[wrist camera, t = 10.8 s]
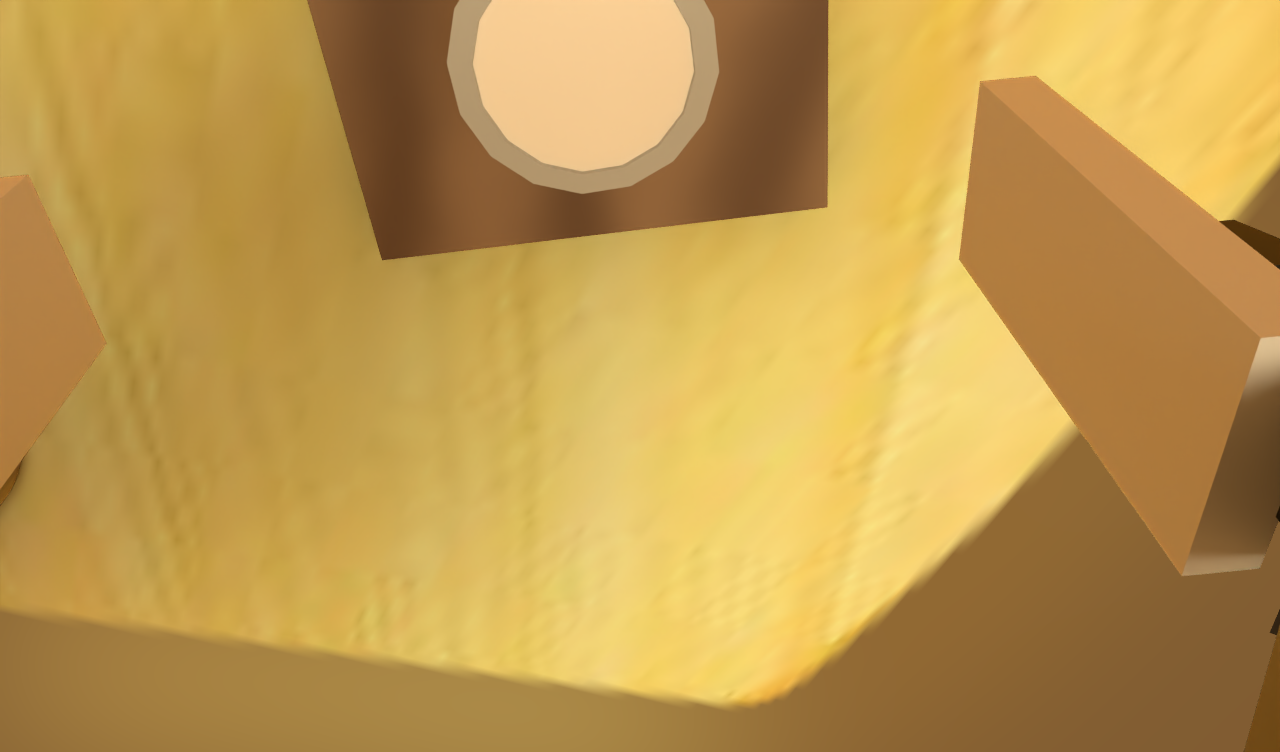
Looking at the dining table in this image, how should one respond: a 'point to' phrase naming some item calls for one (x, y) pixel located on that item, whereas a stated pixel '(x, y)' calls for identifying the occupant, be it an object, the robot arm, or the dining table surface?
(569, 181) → the beige cylinder
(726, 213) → the serving board
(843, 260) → the dining table surface
